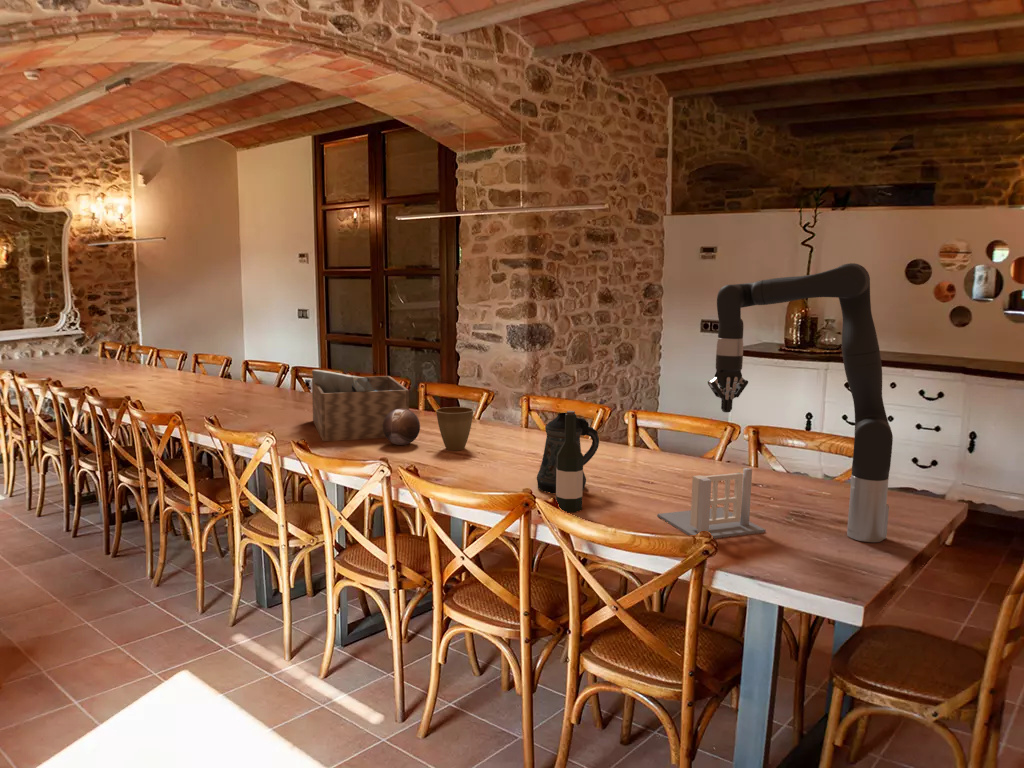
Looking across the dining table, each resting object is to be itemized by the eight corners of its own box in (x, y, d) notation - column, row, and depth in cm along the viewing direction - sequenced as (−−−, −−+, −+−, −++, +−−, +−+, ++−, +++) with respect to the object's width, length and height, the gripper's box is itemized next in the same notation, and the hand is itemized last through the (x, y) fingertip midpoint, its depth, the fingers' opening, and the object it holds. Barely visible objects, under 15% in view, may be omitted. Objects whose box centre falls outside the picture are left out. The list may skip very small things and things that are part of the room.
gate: (735, 519, 223) (737, 471, 221) (741, 522, 220) (744, 474, 218) (690, 524, 218) (692, 476, 216) (696, 528, 215) (698, 478, 213)
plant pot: (477, 445, 320) (477, 407, 317) (467, 454, 305) (467, 413, 303) (442, 443, 323) (442, 405, 321) (431, 451, 309) (431, 411, 306)
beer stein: (527, 484, 264) (528, 411, 260) (575, 477, 273) (576, 407, 269) (553, 497, 249) (555, 420, 246) (603, 489, 259) (605, 415, 255)
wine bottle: (578, 513, 233) (580, 414, 228) (551, 510, 236) (553, 412, 231) (585, 506, 240) (588, 410, 236) (559, 503, 243) (561, 408, 239)
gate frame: (721, 509, 238) (724, 455, 236) (765, 532, 218) (769, 473, 216) (657, 516, 231) (659, 460, 229) (697, 540, 211) (700, 479, 209)
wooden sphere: (380, 448, 313) (379, 411, 310) (386, 440, 328) (385, 405, 325) (418, 449, 313) (417, 412, 311) (421, 440, 328) (421, 405, 325)
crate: (390, 416, 379) (389, 375, 376) (409, 436, 336) (408, 390, 334) (313, 420, 367) (311, 378, 364) (322, 441, 325) (321, 393, 322)
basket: (419, 427, 350) (415, 366, 346) (362, 439, 327) (358, 373, 324) (364, 420, 377) (361, 363, 373) (308, 430, 354) (304, 370, 351)
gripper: (717, 355, 222) (714, 415, 225) (756, 354, 226) (753, 413, 229) (702, 352, 229) (700, 410, 232) (741, 351, 233) (738, 408, 236)
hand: (726, 411), depth 230 cm, fingers closed
